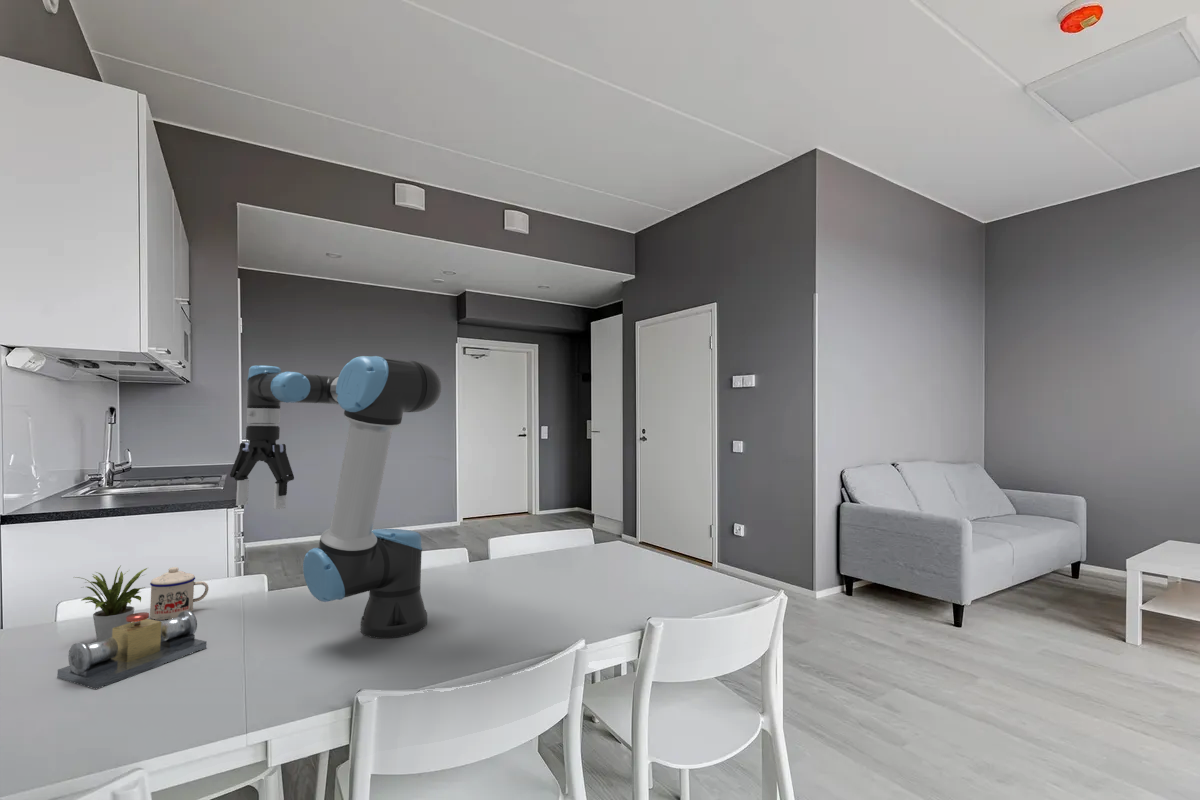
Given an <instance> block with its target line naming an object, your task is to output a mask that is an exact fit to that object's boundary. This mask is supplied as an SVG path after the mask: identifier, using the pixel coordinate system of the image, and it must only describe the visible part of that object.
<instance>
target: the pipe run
mask: <svg viewBox="0 0 1200 800" xmlns="http://www.w3.org/2000/svg"><path fill="white" fill-rule="evenodd" d="M197 628H198V620H197V617H196V615H195V614H194V612H193V611H192V612H191V611H189V610H187V611H183V612H181V613H180V614H179V615H178V617H176V618H173V619H168V620H162V621H161V643H160V651H159V652H156V653H153V654H150V655H147V656H145V657H142V658H139V659H136V660H133V661H130V662H123V661H119V660H115V659H112V658H115V657H116V655H117V653H118V645H117V642H116V640H115V639H114V638H112V637H110V638H107V639H104V640H101V641H97V640H96V641H94V642H92V643H88V644H87V643H86V642H84V641H79V642H75V643H73V644H72V645H71V646H70V649H69V651H68V664H69V665H67V666H65V667H61V668H58V669H57V679H60V680H64V679H65V681H67V680H68V681H67V682H70V681H71V683H74V682H75V683H74V684H77V683H78V685H80V684H82V685H81V686H83V685H85V687H87V686H89V687H88V688H90V687H92V688H91V689H93V688H95V689H94V690H97V689H96V688H98V689H100V688H103V687H105V686H104V685H106V686H109V685H111V684H113V682H114V683H116V681H117V682H119V681H121V680H125V679H127V678H130V677H132V676H136V675H138V674H141V673H144V672H147V671H149V670H151V669H155V668H157V667H160V666H162V664H163V665H165V664H168V663H171V662H173V661H172V660H174V661H176V660H179V659H181V658H180V657H182V656H184V657H186V656H185V655H187V654H190V653H192V652H195V651H198V650H201V651H203V650H205V649H204V648H206V649H207V640H202V639H197V638H195V634H196V632H197V630H198V629H197ZM202 649H203V650H202ZM198 652H199V651H198ZM195 653H196V652H195ZM190 655H191V654H190ZM187 656H188V655H187ZM178 658H179V659H178ZM182 658H183V657H182ZM175 659H176V660H175ZM170 661H171V662H170ZM167 662H168V663H167ZM164 663H165V664H164ZM108 684H109V685H108ZM102 686H103V687H102ZM99 687H100V688H99Z"/></svg>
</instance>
